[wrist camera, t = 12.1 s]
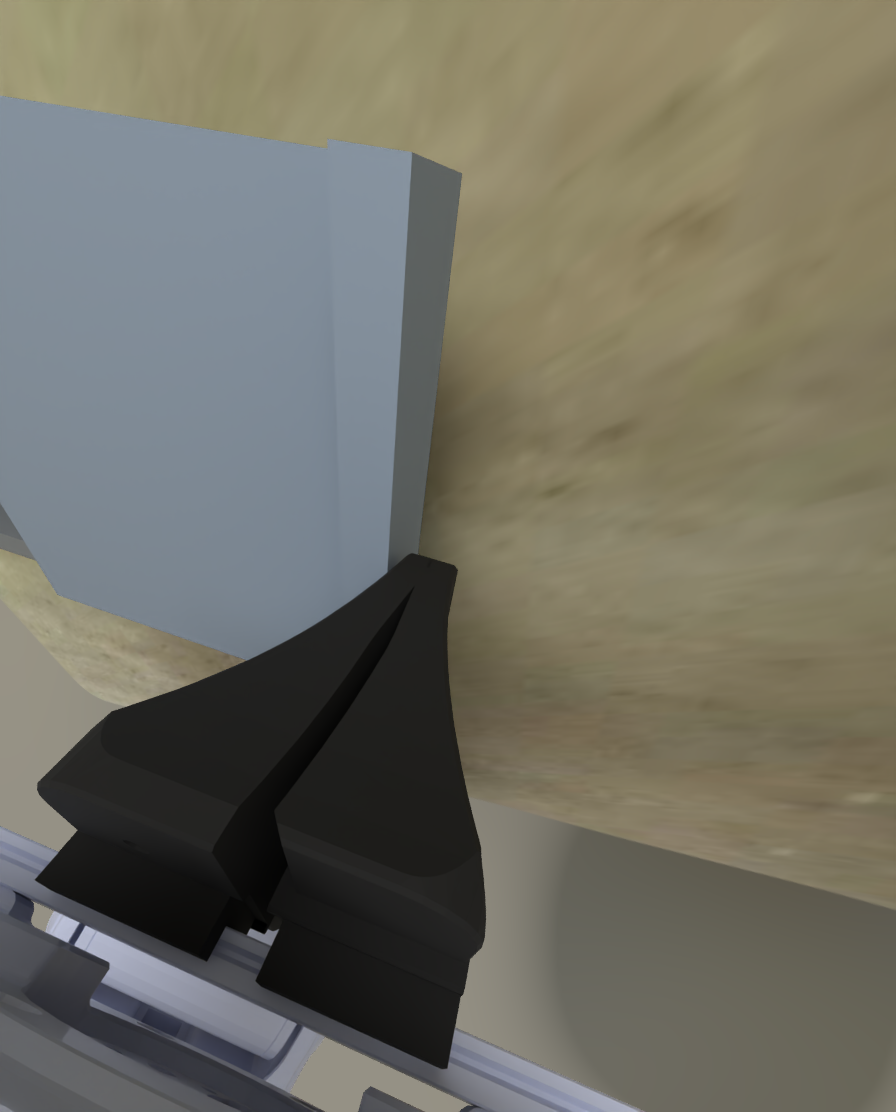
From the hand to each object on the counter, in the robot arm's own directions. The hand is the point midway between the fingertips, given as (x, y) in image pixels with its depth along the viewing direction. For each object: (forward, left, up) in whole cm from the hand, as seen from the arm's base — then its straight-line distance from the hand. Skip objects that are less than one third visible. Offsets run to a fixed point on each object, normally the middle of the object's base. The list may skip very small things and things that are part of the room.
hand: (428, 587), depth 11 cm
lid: (0, +9, -2) cm, 9 cm away
